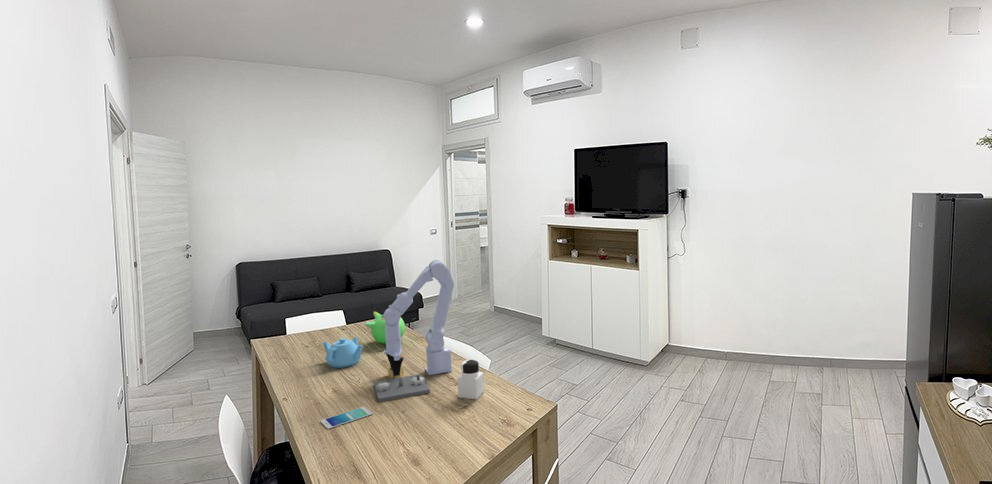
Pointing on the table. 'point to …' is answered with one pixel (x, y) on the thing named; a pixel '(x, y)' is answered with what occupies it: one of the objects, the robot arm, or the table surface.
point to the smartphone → (346, 417)
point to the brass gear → (391, 375)
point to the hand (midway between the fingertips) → (395, 372)
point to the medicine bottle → (470, 380)
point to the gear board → (401, 387)
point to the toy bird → (382, 328)
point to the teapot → (343, 352)
